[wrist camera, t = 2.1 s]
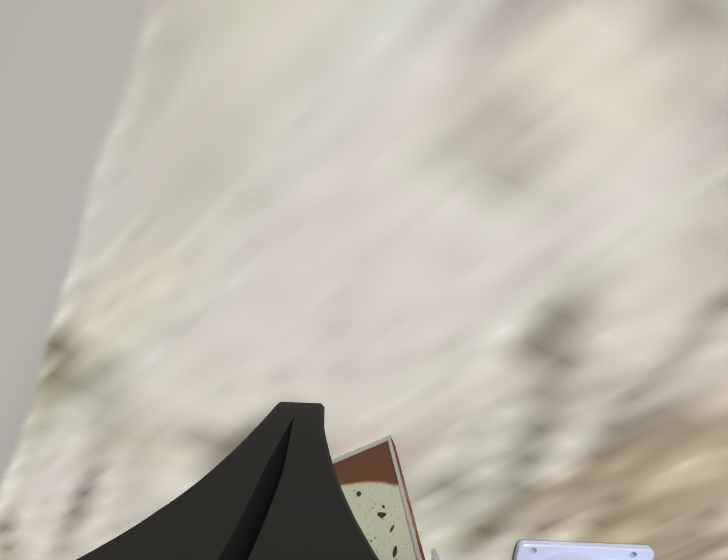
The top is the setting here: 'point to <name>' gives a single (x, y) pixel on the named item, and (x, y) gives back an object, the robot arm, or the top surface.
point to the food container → (380, 500)
